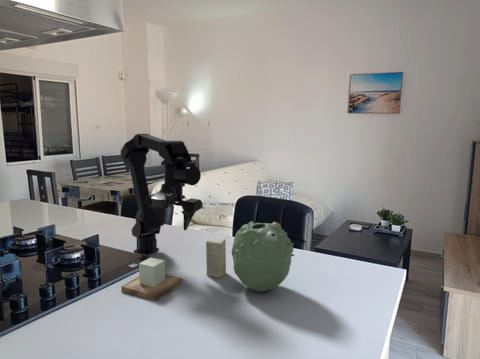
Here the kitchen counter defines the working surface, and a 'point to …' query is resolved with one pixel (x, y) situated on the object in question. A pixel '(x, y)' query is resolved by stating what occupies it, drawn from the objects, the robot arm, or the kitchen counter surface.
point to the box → (216, 257)
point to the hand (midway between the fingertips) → (173, 227)
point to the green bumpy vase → (262, 255)
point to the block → (152, 272)
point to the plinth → (148, 291)
